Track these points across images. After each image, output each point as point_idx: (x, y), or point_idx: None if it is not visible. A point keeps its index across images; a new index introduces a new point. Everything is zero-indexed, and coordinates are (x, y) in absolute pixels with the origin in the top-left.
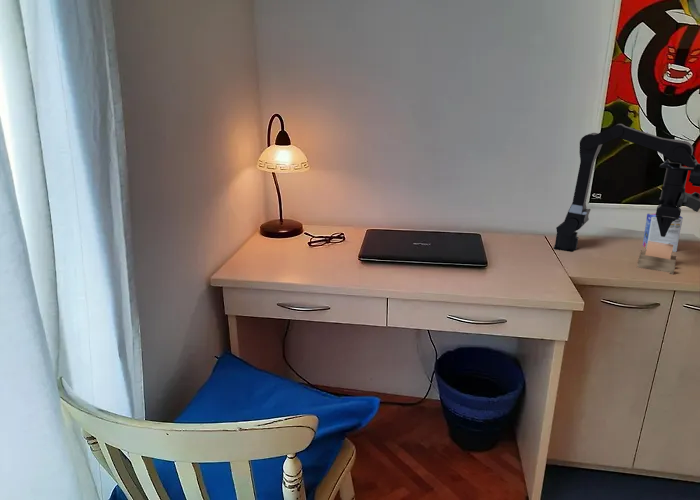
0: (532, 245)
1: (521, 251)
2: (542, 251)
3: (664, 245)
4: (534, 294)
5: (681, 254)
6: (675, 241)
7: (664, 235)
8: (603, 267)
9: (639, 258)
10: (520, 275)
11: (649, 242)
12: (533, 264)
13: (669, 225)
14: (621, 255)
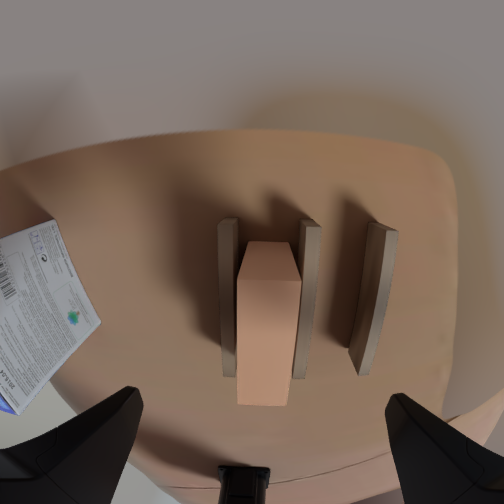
0: None
1: (301, 500)
2: (285, 490)
3: (295, 332)
4: (492, 419)
5: (71, 197)
6: (28, 240)
7: (408, 401)
8: (367, 413)
9: (360, 372)
10: None
11: (275, 400)
12: (374, 477)
13: (480, 451)
14: (216, 395)
